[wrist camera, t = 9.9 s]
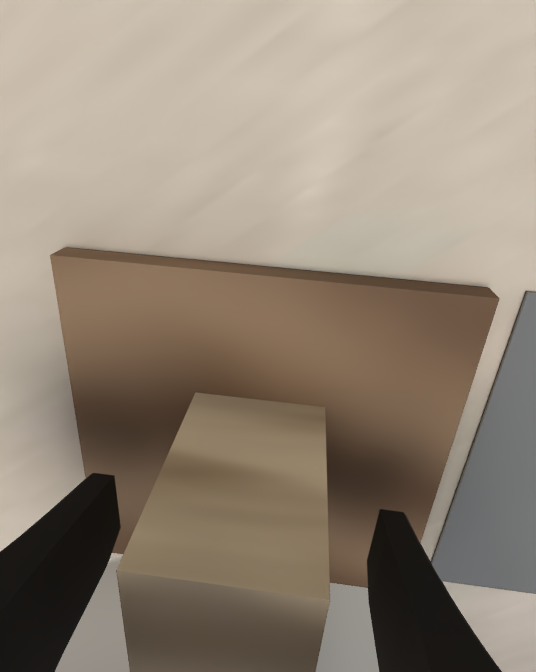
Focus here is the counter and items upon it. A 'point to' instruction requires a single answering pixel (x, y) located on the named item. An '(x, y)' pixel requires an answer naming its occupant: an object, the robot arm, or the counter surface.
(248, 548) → the maple block
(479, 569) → the tile
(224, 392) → the board
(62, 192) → the counter surface
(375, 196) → the counter surface
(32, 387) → the counter surface
